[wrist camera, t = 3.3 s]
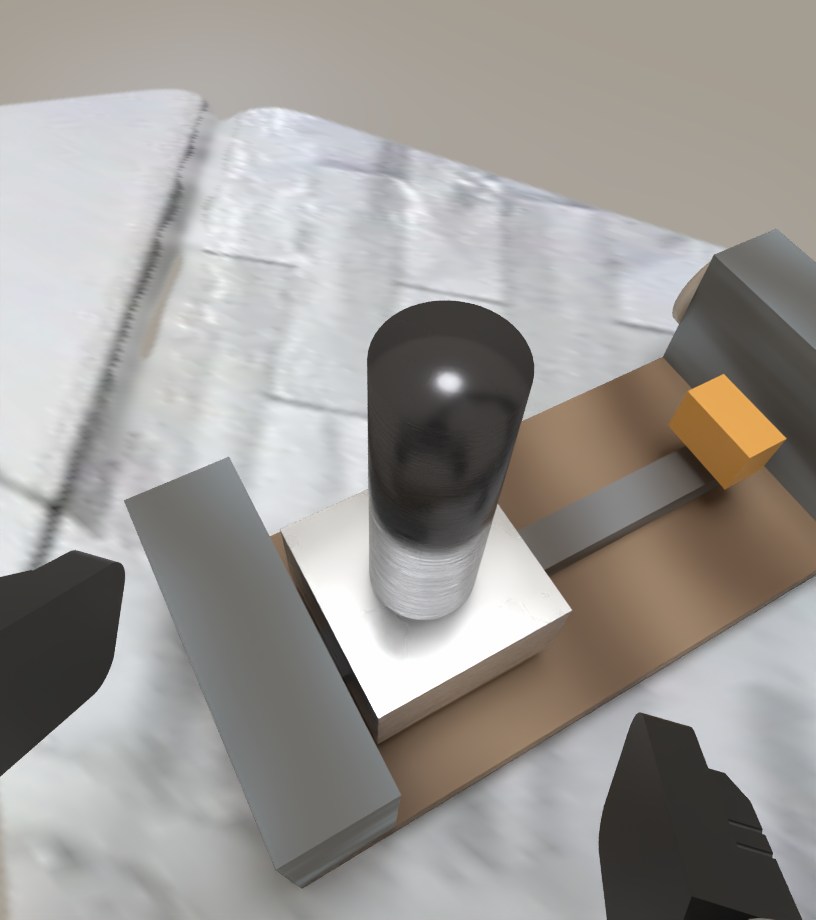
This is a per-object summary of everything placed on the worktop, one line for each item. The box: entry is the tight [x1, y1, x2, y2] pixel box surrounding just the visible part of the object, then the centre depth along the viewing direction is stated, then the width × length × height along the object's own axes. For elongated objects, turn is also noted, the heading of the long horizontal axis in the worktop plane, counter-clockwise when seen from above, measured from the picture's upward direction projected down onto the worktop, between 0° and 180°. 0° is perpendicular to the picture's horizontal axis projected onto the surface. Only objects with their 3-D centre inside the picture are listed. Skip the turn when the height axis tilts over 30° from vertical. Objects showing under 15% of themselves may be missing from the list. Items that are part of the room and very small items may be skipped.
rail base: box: [124, 229, 816, 888], centre depth 25 cm, size 24×10×7 cm, turn 119°
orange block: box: [668, 374, 786, 489], centre depth 26 cm, size 2×3×2 cm, turn 29°
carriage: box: [280, 301, 572, 744], centre depth 19 cm, size 6×6×12 cm
